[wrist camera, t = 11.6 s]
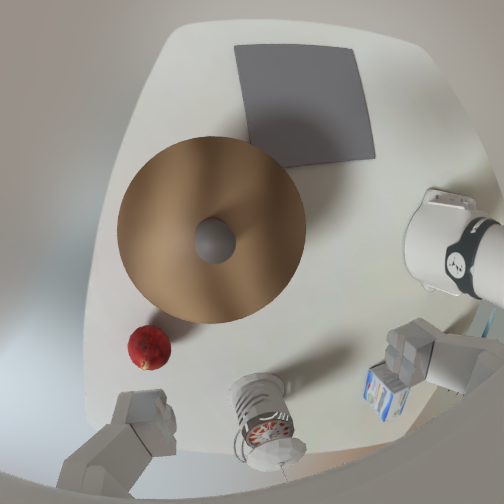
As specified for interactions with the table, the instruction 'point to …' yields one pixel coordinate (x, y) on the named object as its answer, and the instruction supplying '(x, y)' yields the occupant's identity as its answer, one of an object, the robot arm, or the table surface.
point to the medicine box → (385, 392)
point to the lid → (211, 230)
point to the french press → (265, 423)
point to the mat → (304, 103)
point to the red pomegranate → (149, 348)
